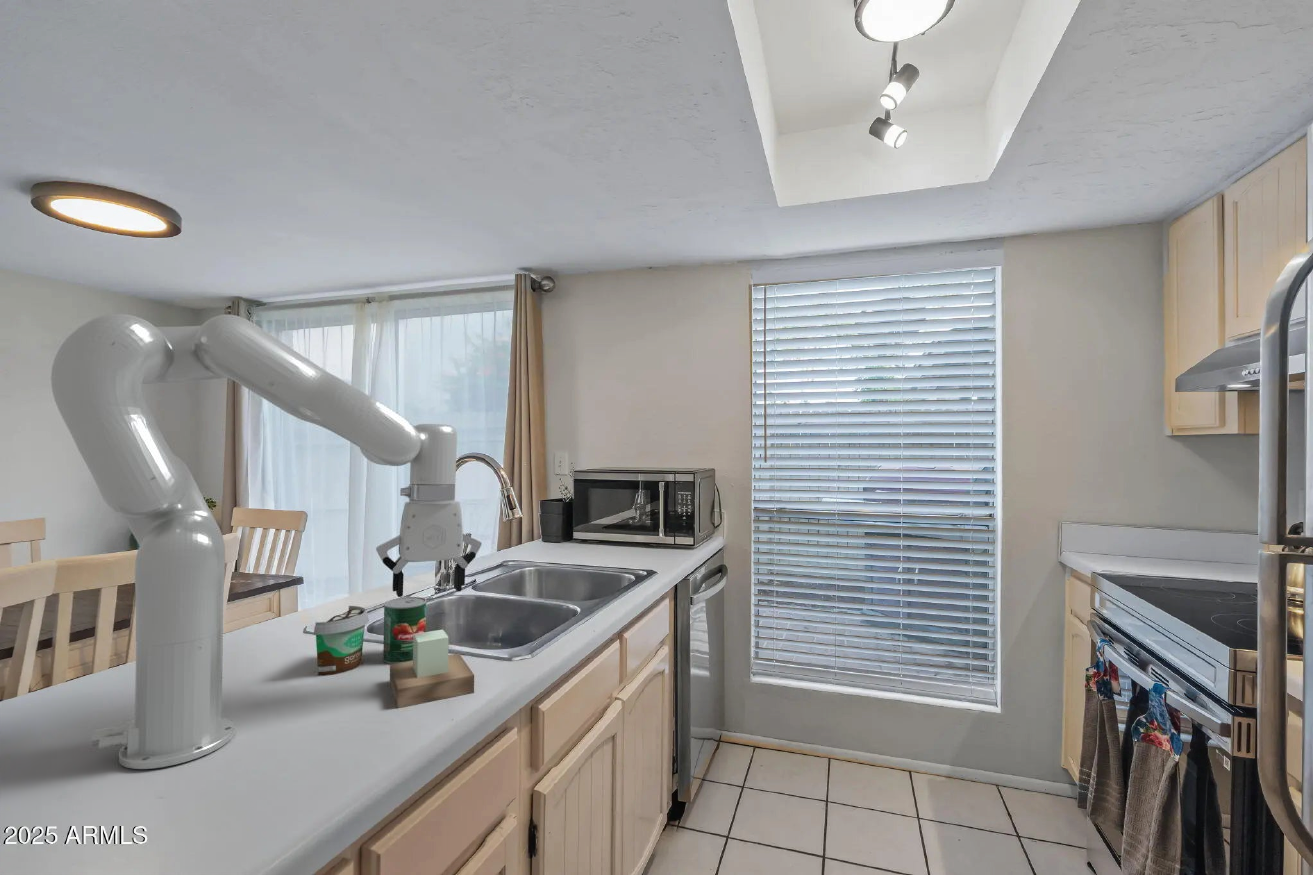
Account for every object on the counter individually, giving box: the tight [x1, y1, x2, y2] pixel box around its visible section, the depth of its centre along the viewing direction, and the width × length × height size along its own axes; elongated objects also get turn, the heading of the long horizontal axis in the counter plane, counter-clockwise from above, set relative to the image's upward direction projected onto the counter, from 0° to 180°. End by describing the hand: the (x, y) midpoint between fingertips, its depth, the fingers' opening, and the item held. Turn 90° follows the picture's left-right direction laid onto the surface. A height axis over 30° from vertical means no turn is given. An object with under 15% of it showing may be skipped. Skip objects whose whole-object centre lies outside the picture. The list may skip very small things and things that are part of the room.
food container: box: [313, 605, 370, 677], centre depth 113 cm, size 12×6×10 cm, turn 179°
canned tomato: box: [382, 596, 427, 665], centre depth 118 cm, size 8×8×11 cm
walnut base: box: [389, 653, 475, 709], centre depth 103 cm, size 12×12×3 cm
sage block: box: [413, 629, 450, 678], centre depth 103 cm, size 5×5×6 cm
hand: (429, 592), depth 103 cm, fingers open, 9 cm apart
